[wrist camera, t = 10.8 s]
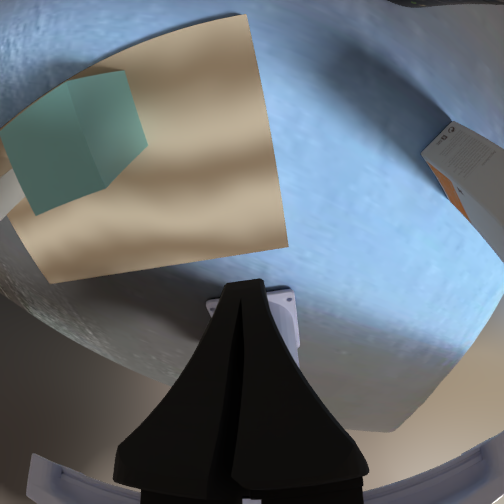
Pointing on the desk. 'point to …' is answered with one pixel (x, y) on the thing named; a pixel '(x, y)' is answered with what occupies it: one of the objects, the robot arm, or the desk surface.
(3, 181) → the grey post
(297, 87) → the desk surface
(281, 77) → the desk surface
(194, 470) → the robot arm
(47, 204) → the teal green block
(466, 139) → the skincare box
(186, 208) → the board
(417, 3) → the supplement bottle
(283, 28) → the desk surface
